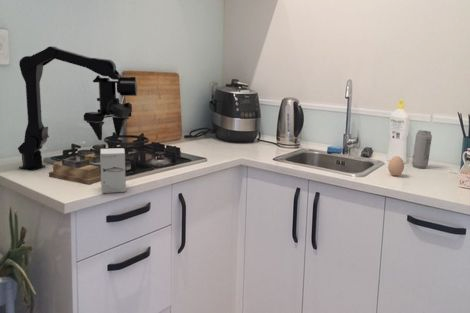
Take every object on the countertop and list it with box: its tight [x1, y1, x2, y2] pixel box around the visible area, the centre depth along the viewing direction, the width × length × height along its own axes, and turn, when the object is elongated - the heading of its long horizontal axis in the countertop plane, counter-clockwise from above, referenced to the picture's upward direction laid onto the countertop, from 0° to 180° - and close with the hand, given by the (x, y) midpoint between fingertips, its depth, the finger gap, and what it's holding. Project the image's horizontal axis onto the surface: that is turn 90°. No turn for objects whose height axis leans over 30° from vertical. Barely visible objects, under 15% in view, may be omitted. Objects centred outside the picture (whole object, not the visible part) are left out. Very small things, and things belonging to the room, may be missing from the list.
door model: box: [48, 150, 101, 185], centre depth 146 cm, size 18×16×6 cm
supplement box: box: [100, 147, 127, 194], centre depth 130 cm, size 7×7×13 cm
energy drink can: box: [411, 129, 433, 169], centre depth 172 cm, size 6×6×15 cm
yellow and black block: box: [84, 144, 105, 162], centre depth 149 cm, size 4×6×5 cm, turn 155°
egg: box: [387, 155, 405, 177], centre depth 159 cm, size 6×6×8 cm
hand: (109, 138), depth 154 cm, fingers open, 9 cm apart
